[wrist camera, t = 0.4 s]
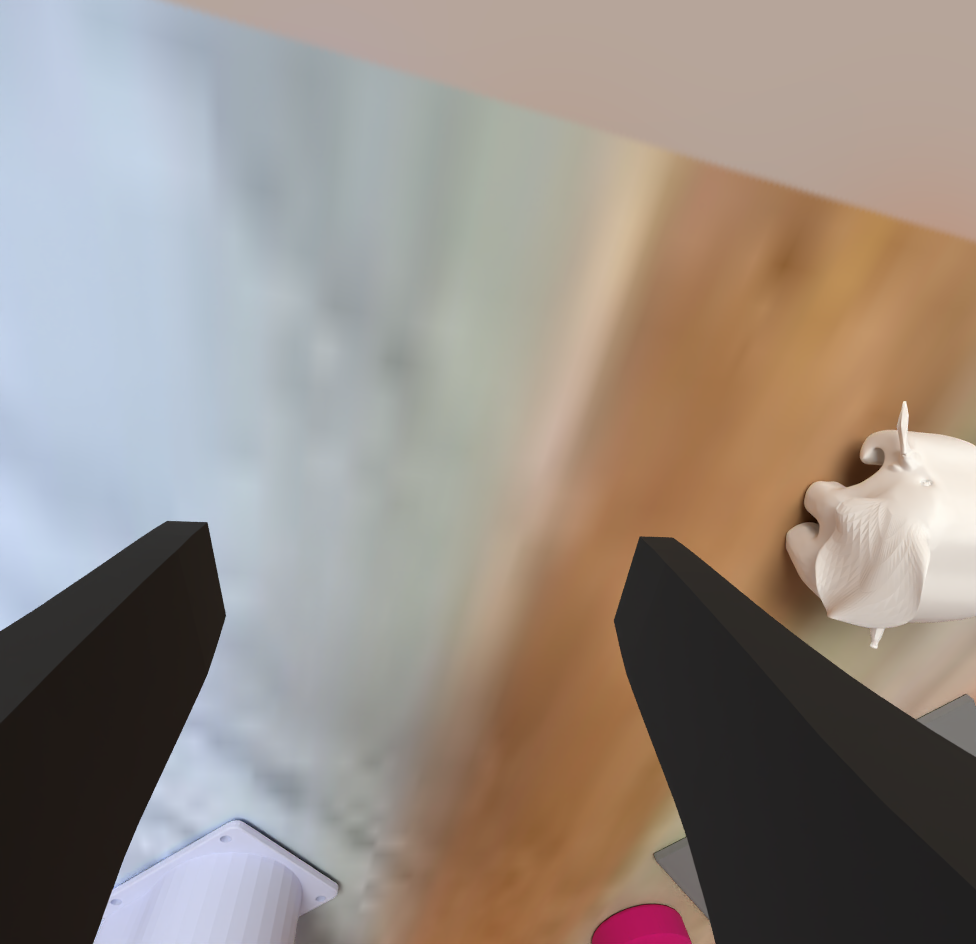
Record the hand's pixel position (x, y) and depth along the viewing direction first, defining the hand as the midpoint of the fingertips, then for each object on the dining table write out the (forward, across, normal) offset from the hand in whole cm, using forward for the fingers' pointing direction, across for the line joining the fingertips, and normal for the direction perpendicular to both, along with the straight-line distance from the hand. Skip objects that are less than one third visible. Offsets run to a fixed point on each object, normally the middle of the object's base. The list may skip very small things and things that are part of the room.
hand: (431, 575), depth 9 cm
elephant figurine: (+11, -18, +5) cm, 22 cm away
